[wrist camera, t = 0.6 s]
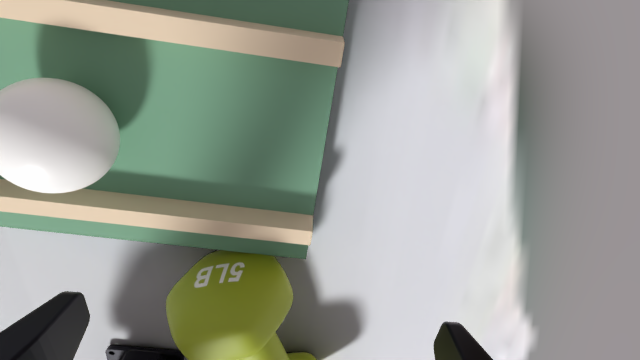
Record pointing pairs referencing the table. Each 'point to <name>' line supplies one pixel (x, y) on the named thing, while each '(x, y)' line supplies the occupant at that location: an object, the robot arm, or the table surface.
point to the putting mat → (187, 116)
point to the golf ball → (55, 135)
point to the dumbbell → (231, 308)
